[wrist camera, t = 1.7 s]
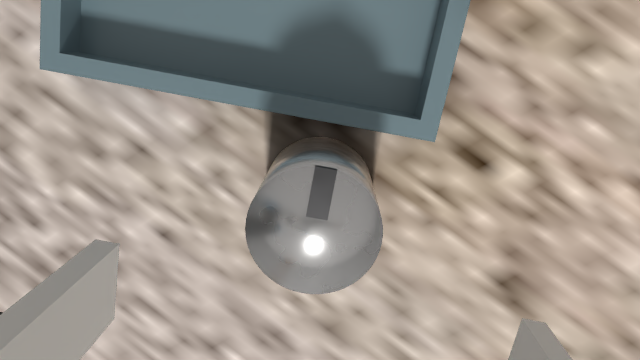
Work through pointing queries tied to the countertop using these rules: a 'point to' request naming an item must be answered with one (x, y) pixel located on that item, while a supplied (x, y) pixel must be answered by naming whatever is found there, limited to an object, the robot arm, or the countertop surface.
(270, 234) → the knob
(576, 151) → the countertop surface
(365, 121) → the parts tray
